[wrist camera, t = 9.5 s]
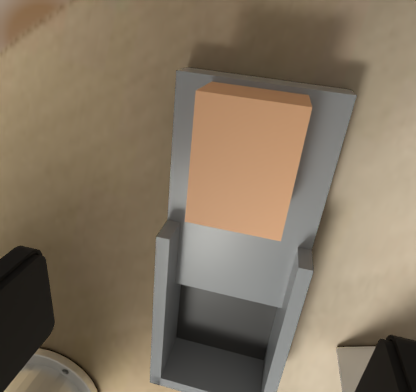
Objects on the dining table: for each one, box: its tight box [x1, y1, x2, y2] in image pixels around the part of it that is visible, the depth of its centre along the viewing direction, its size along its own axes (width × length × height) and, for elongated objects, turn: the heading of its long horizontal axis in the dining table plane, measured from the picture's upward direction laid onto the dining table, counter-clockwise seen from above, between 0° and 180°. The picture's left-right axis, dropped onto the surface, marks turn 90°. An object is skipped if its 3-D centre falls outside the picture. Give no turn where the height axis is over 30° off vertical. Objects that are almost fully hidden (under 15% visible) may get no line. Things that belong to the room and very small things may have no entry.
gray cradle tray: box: [150, 67, 357, 392], centre depth 27 cm, size 11×27×5 cm, turn 174°
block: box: [185, 82, 312, 241], centre depth 21 cm, size 6×8×4 cm
